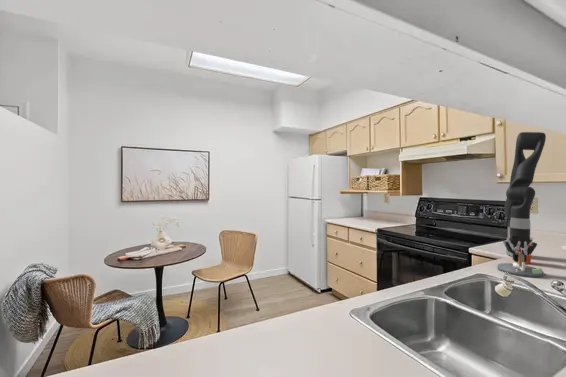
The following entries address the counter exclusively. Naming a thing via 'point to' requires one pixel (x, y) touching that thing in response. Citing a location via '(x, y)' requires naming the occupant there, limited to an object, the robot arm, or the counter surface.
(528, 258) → the coffee cup
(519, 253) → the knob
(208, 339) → the counter surface
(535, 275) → the dial plate
